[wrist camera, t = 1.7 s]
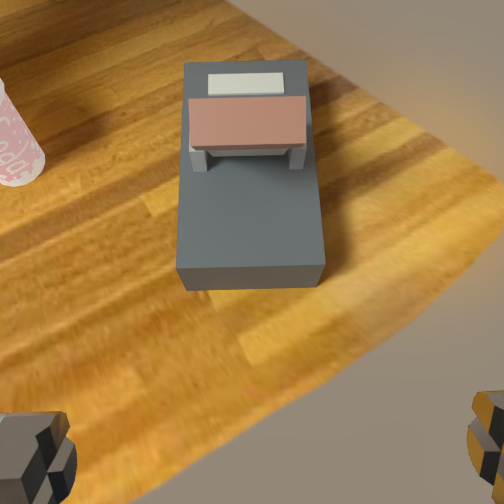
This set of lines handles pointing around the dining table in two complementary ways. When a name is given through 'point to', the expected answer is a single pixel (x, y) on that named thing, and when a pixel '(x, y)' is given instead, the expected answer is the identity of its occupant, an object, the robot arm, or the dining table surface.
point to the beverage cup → (17, 146)
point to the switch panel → (248, 192)
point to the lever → (247, 125)
